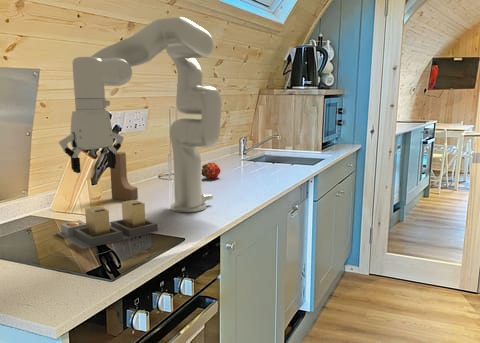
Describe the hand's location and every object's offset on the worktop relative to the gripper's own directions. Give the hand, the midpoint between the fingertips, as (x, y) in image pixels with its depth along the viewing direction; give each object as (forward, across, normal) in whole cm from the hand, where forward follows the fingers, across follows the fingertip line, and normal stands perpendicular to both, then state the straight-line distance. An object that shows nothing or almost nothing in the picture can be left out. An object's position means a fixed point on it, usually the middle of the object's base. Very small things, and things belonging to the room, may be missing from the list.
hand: (94, 170), depth 122 cm
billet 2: (+19, -11, 0) cm, 22 cm away
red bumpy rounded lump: (+21, -80, -52) cm, 97 cm away
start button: (+19, +3, -9) cm, 21 cm away
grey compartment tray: (+20, -5, -3) cm, 21 cm away
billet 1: (+19, 0, 0) cm, 19 cm away
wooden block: (+21, -30, -42) cm, 55 cm away
